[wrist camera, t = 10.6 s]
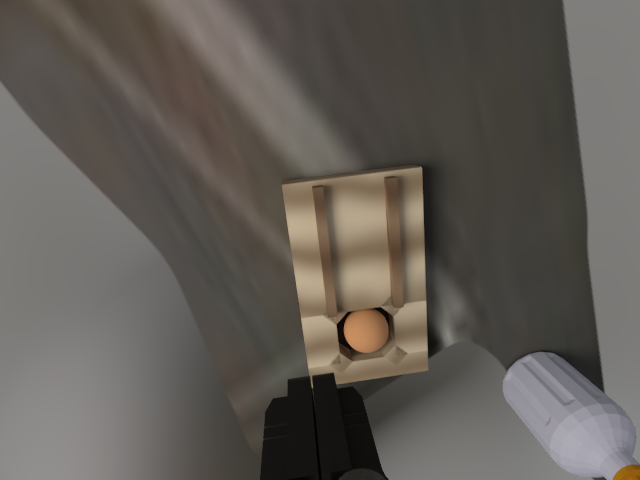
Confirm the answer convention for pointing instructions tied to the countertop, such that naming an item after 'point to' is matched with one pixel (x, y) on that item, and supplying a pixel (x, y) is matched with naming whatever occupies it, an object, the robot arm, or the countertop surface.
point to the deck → (360, 267)
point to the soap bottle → (572, 418)
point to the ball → (366, 330)
